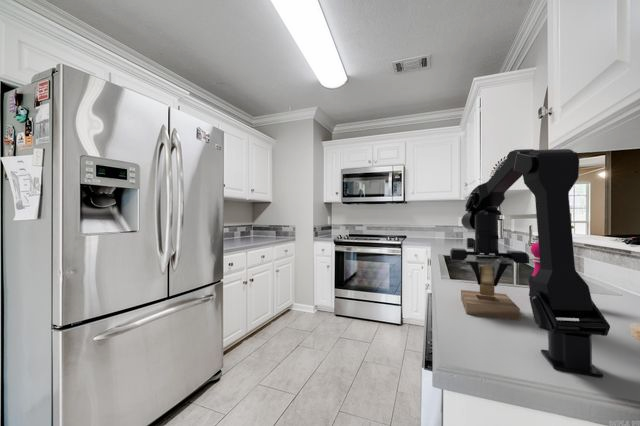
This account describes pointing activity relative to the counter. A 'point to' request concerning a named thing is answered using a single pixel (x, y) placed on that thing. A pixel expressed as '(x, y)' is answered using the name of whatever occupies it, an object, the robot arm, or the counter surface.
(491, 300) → the board
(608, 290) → the counter surface
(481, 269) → the peg
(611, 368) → the counter surface
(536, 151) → the robot arm
